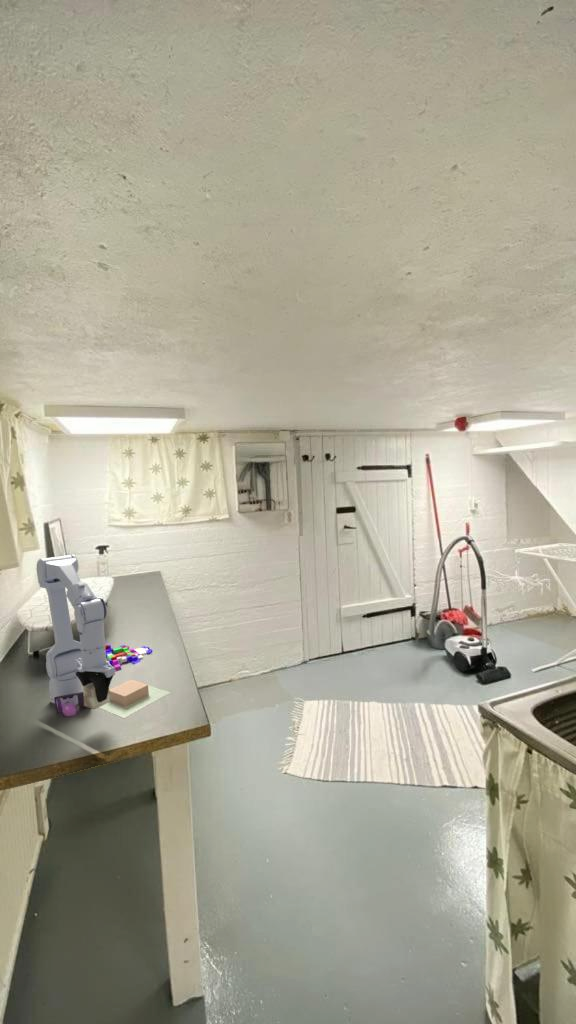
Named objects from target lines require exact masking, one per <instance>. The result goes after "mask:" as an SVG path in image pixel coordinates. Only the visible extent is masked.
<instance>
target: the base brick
mask: <svg viewBox="0 0 576 1024" xmlns="http://www.w3.org/2000/svg"><path fill="white" fill-rule="evenodd" d="M147 695H149V691H148V684H147V683H144V682H140V681H138V680H135V679H128V680H127V681H124V682H123V683H121V684H118V685H116V686H114V687H111V688H109V696H110V701H112V702H114V703H117V704H120V705H122V706H125V707H126V706H128V705H130V704H132V703H134V702H136V701H137V700H139V699H141V698H143V697H145V696H147Z"/></svg>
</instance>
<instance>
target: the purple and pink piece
mask: <svg viewBox="0 0 576 1024" xmlns="http://www.w3.org/2000/svg"><path fill="white" fill-rule="evenodd" d="M74 695H77V697H78V703H79V704H78V709H79V710H83V709H87V708H89V707H87V706H84V696H83V692H79V693H74V694H68V695H63V696H57V697H54V700H55V704H54V706H55V711H56V714H59V713H62V714H63V715H64V716H65V717H74V716H76V714H77V713H78V710H77V709H76V706H77V705H74V704H73V703H72V702H66V704H65V703H64V704H61V700H62V699H67V698H69V699H70V698H73V696H74ZM57 703H58V707H57ZM62 705H63V706H62ZM62 707H63V708H62Z"/></svg>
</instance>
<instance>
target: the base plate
mask: <svg viewBox="0 0 576 1024" xmlns="http://www.w3.org/2000/svg"><path fill="white" fill-rule="evenodd" d="M147 685H148V684H147ZM148 691H149V695H147V696H145V697H143V698H141V699H139V700H137V701H136V702H134V703H132V704H130V705H128V706H126V707H125V706H122V705H120V704H117V703H114V702H112V701H110V702H109V703H107V704H105V705H103V706H101V707H98V708H99V709H101V710H103V711H105V712H108V713H111V714H113V715H115V716H118V717H119V718H122V719H125V718H127V717H129V716H131V715H132V714H134V713H136V712H138V711H140V710H142V709H144V708H145V707H147V706H149V705H151V704H152V703H155V702H156V701H158V700H160V699H162V698H164V697H166V696H167V695H169V694H171V692H170V691H167V690H163V689H160V688H157V687H155V686H152V685H148ZM98 708H97V709H98Z"/></svg>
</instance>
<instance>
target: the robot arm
mask: <svg viewBox="0 0 576 1024" xmlns="http://www.w3.org/2000/svg"><path fill="white" fill-rule="evenodd" d="M78 572H79V561H78V558H77V557H76V555H74V554H68V555H62V556H61V555H60V556H52V557H46V558H43V557H41V558H39V559H38V560H37V562H36V575H37V582H38V586H39V588H44V589H45V591H46V594H47V598H48V604H49V611H50V618H51V622H52V623H51V625H52V630H53V637H54V642H55V643H54V644H53V645H52V646H51V648H50V649H49V650H48V651H46V653H45V660H46V662H45V668H46V673H47V676H48V677H49V678H50V680H49V682H48V688H49V700H50V701H49V702H50V703H52V704H54V705H55V700H54V697H57V696H63V695H68V694H74V693H79V692H83V686H85V685H87V684H90V683H93V685H94V688H95V691H96V697H97V700H98V702H102V701H104V700H106V699H107V695H108V690H110V684H111V682H112V679H113V678H114V676H115V675H116V670H115V667H112V666H111V665H110V663H109V662H108V661H107V659H106V650H105V645H106V639H105V637H106V636H105V624H104V621H105V620H106V619H107V616H108V609H107V604H106V601H105V600H104V598H103V597H99V596H96V595H95V594H94V592H93V591H92V589H91V588H90V586H89V585H88V584H87V583H86V582H83V581H81V579H80V577H79V575H78ZM68 601H69V602H68ZM68 603H70V605H71V606H72V607H73V610H74V613H73V614H74V619H75V623H76V628H77V631H78V633H79V641H77V640H76V639H74V636H73V629H72V622H71V616H70V609H69V604H68ZM66 702H72V703H73V704H74V705H76V706H77V705H79V703H78V697H77V695H74V696H73V698H70V699H69V698H67V699H62V700H61V704H64V703H65V704H66ZM62 706H63V705H62ZM57 707H58V703H57ZM62 709H63V707H62Z"/></svg>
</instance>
